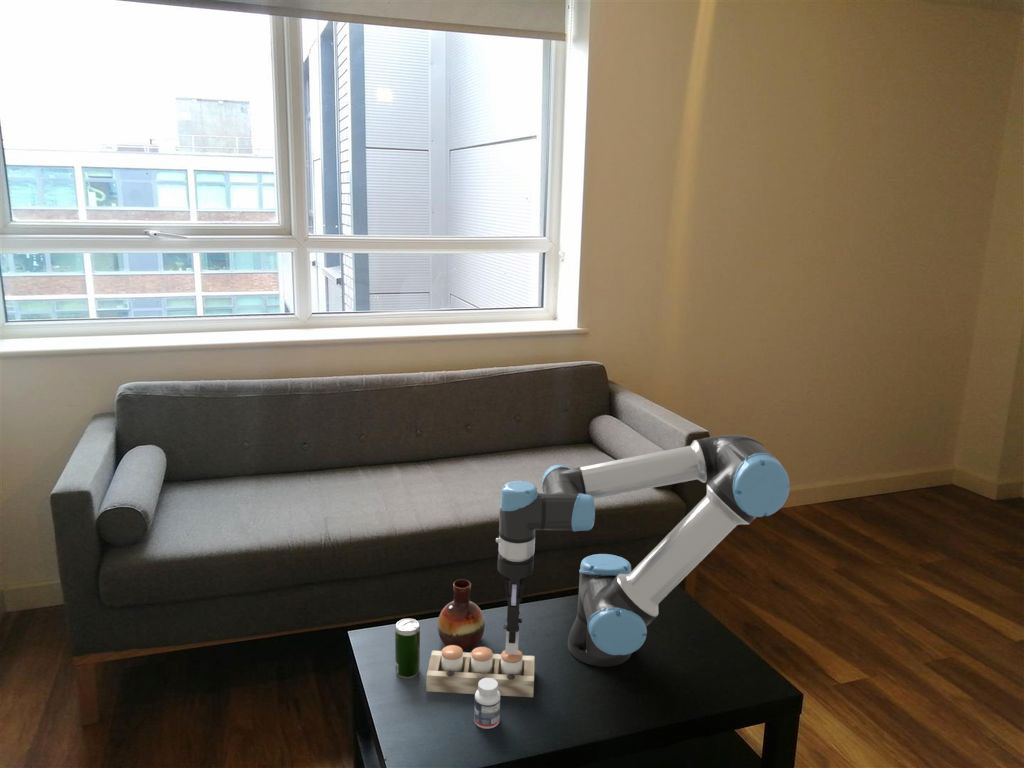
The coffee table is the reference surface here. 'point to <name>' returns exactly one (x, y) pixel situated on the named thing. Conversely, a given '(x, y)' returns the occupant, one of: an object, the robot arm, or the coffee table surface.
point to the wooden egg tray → (479, 677)
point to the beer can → (407, 648)
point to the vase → (461, 619)
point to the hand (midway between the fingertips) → (511, 652)
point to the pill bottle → (487, 704)
